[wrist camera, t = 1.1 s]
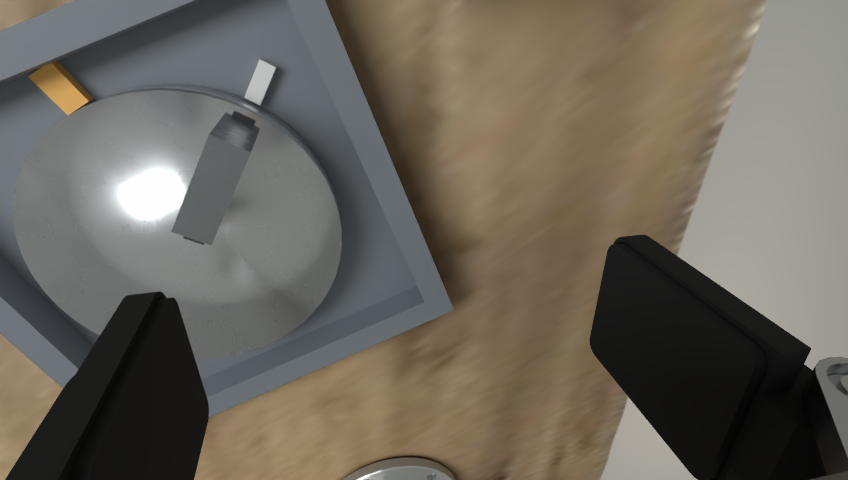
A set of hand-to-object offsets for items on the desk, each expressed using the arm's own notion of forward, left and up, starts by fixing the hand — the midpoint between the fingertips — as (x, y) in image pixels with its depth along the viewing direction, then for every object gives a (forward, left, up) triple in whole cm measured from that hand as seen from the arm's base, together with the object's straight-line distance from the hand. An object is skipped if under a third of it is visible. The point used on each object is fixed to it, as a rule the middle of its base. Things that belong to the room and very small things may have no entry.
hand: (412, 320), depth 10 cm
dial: (-2, +10, -17) cm, 20 cm away
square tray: (-2, +10, -18) cm, 21 cm away
